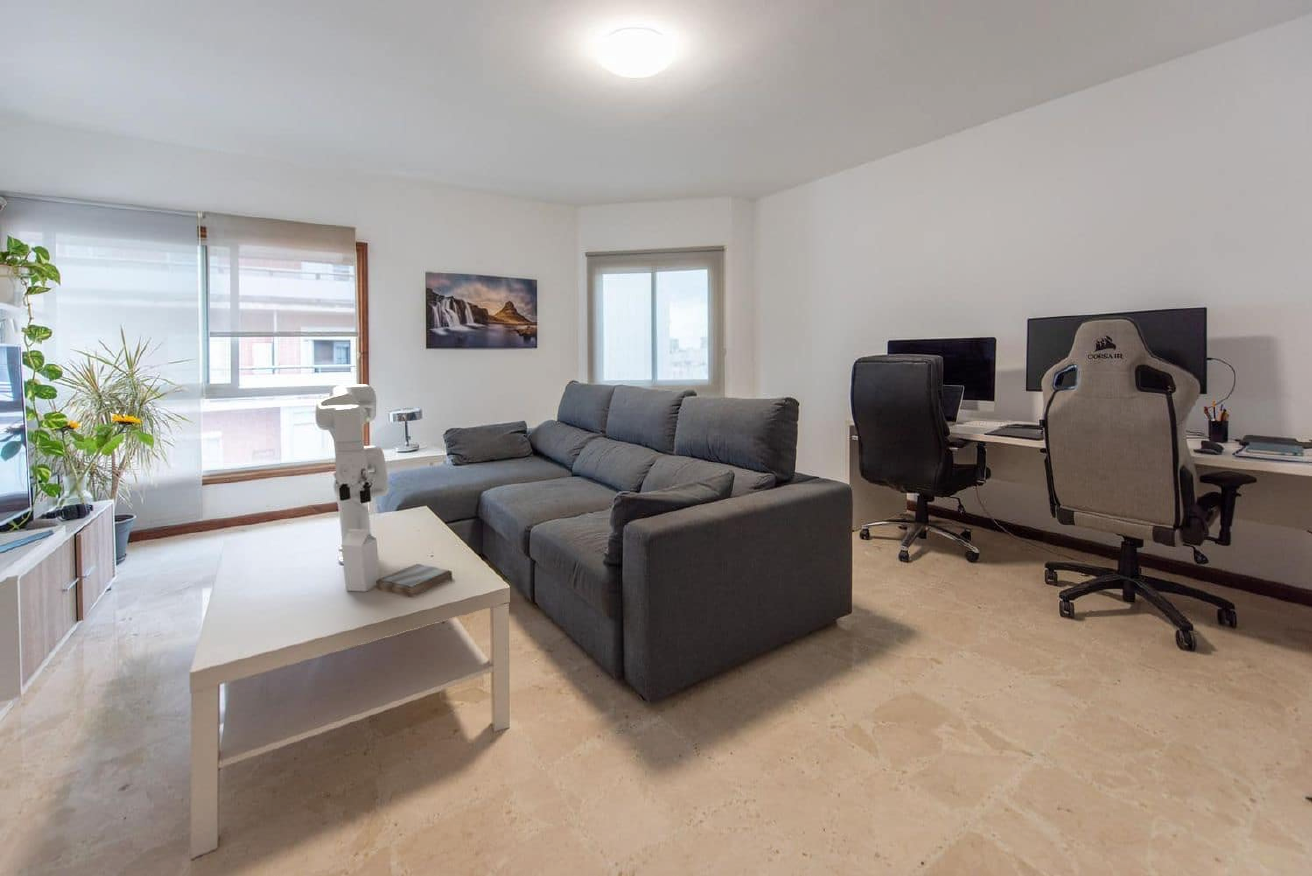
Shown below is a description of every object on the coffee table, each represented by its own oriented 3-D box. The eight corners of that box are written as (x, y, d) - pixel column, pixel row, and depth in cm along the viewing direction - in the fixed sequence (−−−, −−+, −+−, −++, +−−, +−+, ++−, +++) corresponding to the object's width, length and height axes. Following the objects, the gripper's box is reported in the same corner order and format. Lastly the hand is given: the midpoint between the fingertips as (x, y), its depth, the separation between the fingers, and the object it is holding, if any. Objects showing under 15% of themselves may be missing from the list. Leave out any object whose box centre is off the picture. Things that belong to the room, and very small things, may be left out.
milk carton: (365, 592, 178) (360, 533, 175) (345, 591, 179) (339, 532, 176) (380, 583, 184) (375, 526, 182) (361, 582, 186) (356, 526, 183)
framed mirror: (376, 588, 180) (375, 579, 180) (418, 571, 194) (417, 563, 194) (411, 597, 173) (411, 587, 173) (452, 578, 187) (451, 570, 187)
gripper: (321, 447, 176) (326, 501, 178) (357, 449, 168) (362, 506, 171) (343, 444, 183) (348, 496, 185) (379, 446, 175) (384, 500, 177)
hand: (355, 501), depth 178 cm, fingers open, 9 cm apart
